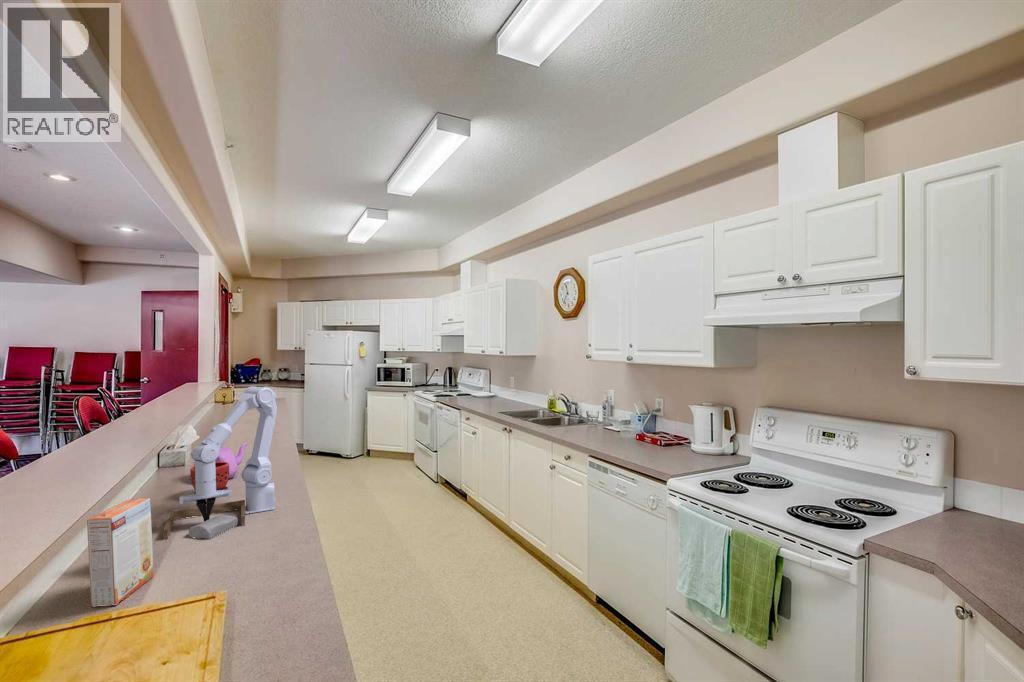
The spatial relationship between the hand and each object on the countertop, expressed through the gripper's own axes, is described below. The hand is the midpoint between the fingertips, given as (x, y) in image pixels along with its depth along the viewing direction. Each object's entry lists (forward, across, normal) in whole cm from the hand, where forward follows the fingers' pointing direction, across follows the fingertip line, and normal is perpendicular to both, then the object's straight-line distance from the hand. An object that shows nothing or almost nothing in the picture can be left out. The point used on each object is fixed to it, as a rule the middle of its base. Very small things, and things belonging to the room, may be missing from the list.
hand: (206, 521), depth 162 cm
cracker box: (+2, +15, +40) cm, 42 cm away
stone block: (+2, -2, +6) cm, 7 cm away
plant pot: (+2, +1, -36) cm, 37 cm away
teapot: (+2, 0, -62) cm, 63 cm away
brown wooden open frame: (+1, 0, -2) cm, 3 cm away
